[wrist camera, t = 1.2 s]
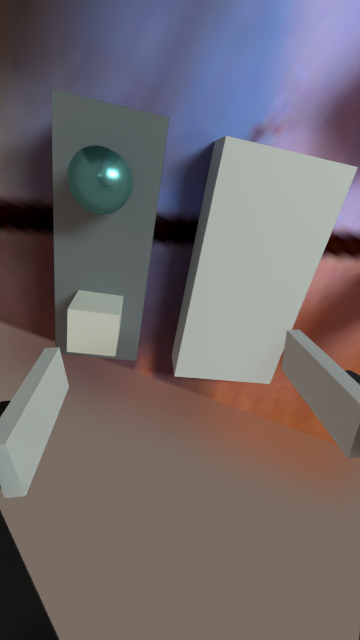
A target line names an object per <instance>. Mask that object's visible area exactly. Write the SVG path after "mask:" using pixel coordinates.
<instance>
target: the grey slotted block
mask: <svg viewBox="0 0 360 640" xmlns="http://www.w3.org/2000/svg"><path fill="white" fill-rule="evenodd" d="M51 103H52V163H53V223H54V284H55V344H56V347H59V348H60V352H61V354H66V355H77V356H90V357H100V358H112V359H123V360H135V361H136V358H137V351H138V344H139V336H140V329H141V322H142V314H143V307H144V300H145V292H146V285H147V277H148V270H149V263H150V255H151V248H152V241H153V233H154V226H155V219H156V211H157V204H158V197H159V189H160V182H161V175H162V167H163V160H164V153H165V145H166V138H167V130H168V123H169V117H165V116H161V115H157V114H153V113H148V112H144V111H140V110H136V109H132V108H128V107H123V106H119V105H115V104H111V103H107V102H103V101H98V100H94V99H90V98H86V97H82V96H78V95H73V94H69V93H65V92H61V91H57V90H52V89H51ZM95 145H97V146H103V147H106V148H108V149H110V150H112V151H114V152H116V153H117V154H119V155H120V156H122V157H123V158H124V159H125V160H126V161H127V163H128V164H129V166H130V168H131V170H132V173H133V178H134V186H133V190H132V193H131V195H130V197H129V198H128V200H127V202H126V203H125V204H124V206H123V207H122V208H120V209H119V210H118V211H116V212H114V213H111V214H106V215H100V214H95V213H92V212H89V211H88V210H86V209H84V208H83V207H82V206H81V205H79V204H78V202H77V201H76V200H75V199H74V197H73V196H72V194H71V192H70V189H69V186H68V181H67V170H68V166H69V163H70V161H71V159H72V157H73V156H74V155H75V154H76V153H77V152H78V151H79V150H81V149H82V148H85V147H87V146H95ZM78 290H82V291H89V292H96V293H104V294H111V295H118V296H123V305H122V314H121V322H120V331H119V338H118V344H117V350H116V356H105V355H94V354H84V353H74V352H67V315H68V307H69V306H70V304H71V302H72V300H73V299H74V297H75V295H76V294H77V292H78Z"/></svg>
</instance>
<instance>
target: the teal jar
mask: <svg viewBox="0 0 360 640" xmlns="http://www.w3.org/2000/svg"><path fill="white" fill-rule="evenodd" d="M67 181H68V186H69V189H70V192H71V194H72V196H73V197H74V199H75V200H76V201H77V202H78V204H79V205H81V206H82V207H83V208H84V209H86V210H88V211H89V212H92V213H95V214H100V215H106V214H111V213H114V212H116V211H118V210H119V209H120V208H122V207H123V206H124V204H125V203H126V202H127V200H128V198H129V197H130V195H131V193H132V190H133V186H134V178H133V173H132V170H131V168H130V166H129V164H128V163H127V161H126V160H125V159H124V158H123V157H122V156H120V155H119V154H117V153H116V152H114V151H112V150H110V149H108V148H106V147H103V146H97V145H95V146H87V147H85V148H82V149H81V150H79V151H78V152H77V153H76V154H75V155H74V156H73V157H72V159H71V161H70V163H69V166H68V170H67Z"/></svg>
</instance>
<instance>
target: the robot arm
mask: <svg viewBox="0 0 360 640" xmlns="http://www.w3.org/2000/svg"><path fill="white" fill-rule="evenodd" d="M281 369H282V371H283V372H284V373H285V375H286V376H287V377H288V379H289V380H290V381H291V383H292V384H293V385H294V387H295V388H296V389H297V391H298V392H299V393H300V395H301V396H302V397H303V399H304V400H305V401H306V403H307V404H308V406H309V407H310V408H311V410H312V411H313V412H314V414H315V415H316V416H317V418H318V419H319V420H320V422H321V423H322V424H323V426H324V427H325V428H326V430H327V431H328V432H329V434H330V435H331V436H332V438H333V439H334V440H335V442H336V443H337V444H338V446H339V447H340V448H341V450H342V451H343V452H344V454H345V455H346V456H347V458H348V459H350V458H359V457H360V375H358V374H356V373H354V372H352V371H350V370H347V371H344V370H343V369H342V368H341V367H340V366H339V365H338V364H336V363H335V362H334V361H333V360H332V359H331V358H330V357H329V356H328V355H327V354H326V353H325V352H323V351H322V350H321V349H320V348H319V347H318V346H317V345H316V344H315V343H314V342H313V341H311V340H310V339H309V338H308V337H307V336H306V335H305V334H304V333H303V332H302V331H301V330H300V329H298V330H287V334H286V341H285V347H284V354H283V361H282V368H281ZM68 388H69V386H68V382H67V377H66V373H65V370H64V365H63V360H62V356H61V352H60V348H59V347H54V348H45V349H44V351H43V352H42V354H41V355H40V357H39V359H38V360H37V361H36V363H35V365H34V366H33V368H32V369H31V371H30V373H29V374H28V375H27V377H26V379H25V380H24V382H23V383H22V385H21V386H20V388H19V389H18V391H17V393H16V394H15V396H14V397H13V399H12V400H11V401H2V402H0V488H1V490H2V493H3V495H4V497H5V498H10V497H19V496H26V494H27V491H28V489H29V486H30V484H31V481H32V478H33V476H34V473H35V471H36V469H37V466H38V464H39V461H40V458H41V456H42V453H43V451H44V448H45V446H46V443H47V441H48V438H49V436H50V433H51V431H52V428H53V426H54V423H55V421H56V418H57V416H58V413H59V411H60V408H61V405H62V403H63V401H64V398H65V396H66V393H67V391H68ZM0 640H59V638H58V636H57V633H56V631H55V629H54V627H53V625H52V623H51V620H50V618H49V616H48V613H47V611H46V609H45V607H44V605H43V603H42V600H41V598H40V596H39V594H38V592H37V590H36V587H35V585H34V583H33V581H32V578H31V576H30V574H29V572H28V570H27V568H26V565H25V563H24V561H23V559H22V557H21V554H20V552H19V550H18V548H17V546H16V544H15V541H14V539H13V537H12V535H11V532H10V531H9V528H8V526H7V524H6V522H5V519H4V517H3V515H2V513H1V511H0ZM359 640H360V634H359Z"/></svg>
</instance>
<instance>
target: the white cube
mask: <svg viewBox="0 0 360 640" xmlns="http://www.w3.org/2000/svg"><path fill="white" fill-rule="evenodd" d="M122 305H123V296H118V295H111V294H104V293H96V292H89V291H82V290H78V292H77V294H76V295H75V297H74V299H73V300H72V302H71V304H70V306H69V307H68V315H67V352H74V353H84V354H94V355H105V356H116V350H117V344H118V338H119V331H120V322H121V314H122Z"/></svg>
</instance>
